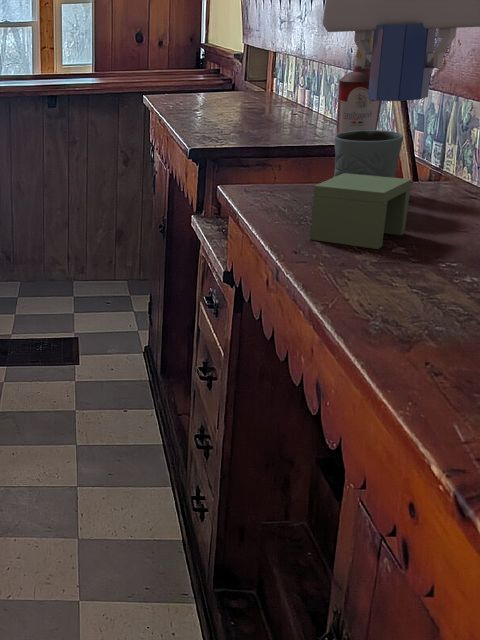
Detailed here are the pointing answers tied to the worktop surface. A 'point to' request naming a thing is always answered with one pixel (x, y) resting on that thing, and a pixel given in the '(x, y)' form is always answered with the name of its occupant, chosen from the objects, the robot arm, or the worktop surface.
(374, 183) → the shelf
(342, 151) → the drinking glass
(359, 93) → the liquor
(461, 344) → the worktop surface
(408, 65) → the cup
